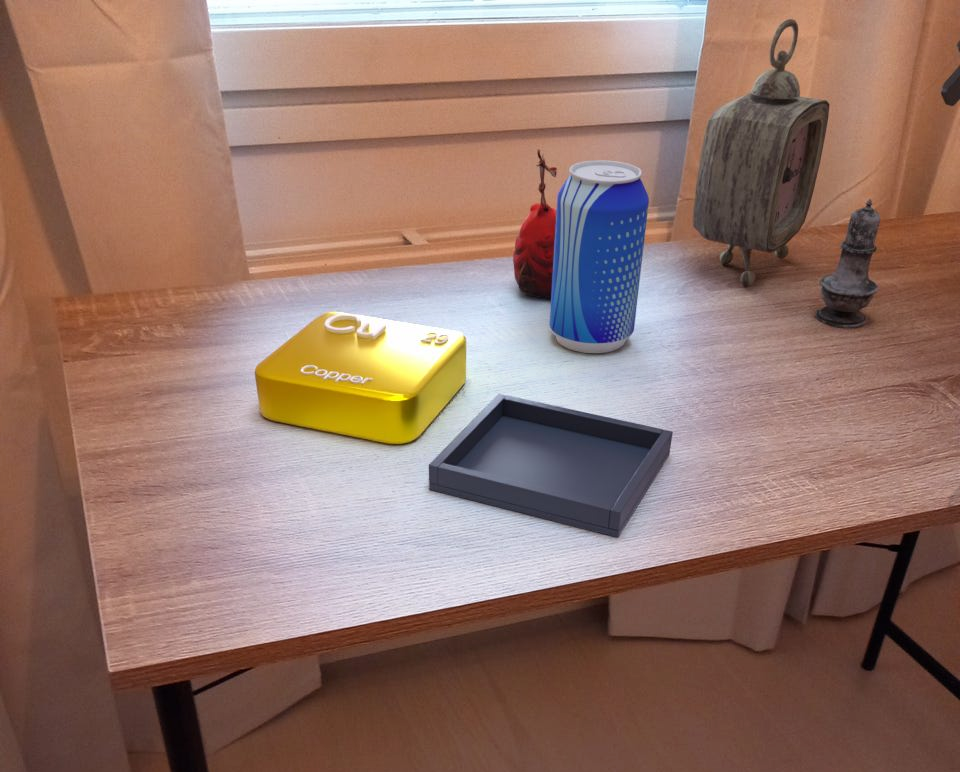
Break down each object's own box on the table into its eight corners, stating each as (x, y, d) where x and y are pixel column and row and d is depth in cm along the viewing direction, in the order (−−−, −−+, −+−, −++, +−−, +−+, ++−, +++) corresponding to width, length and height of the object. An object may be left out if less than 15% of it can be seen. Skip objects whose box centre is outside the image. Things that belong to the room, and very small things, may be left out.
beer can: (591, 364, 98) (607, 189, 88) (531, 336, 103) (539, 167, 93) (649, 341, 102) (671, 172, 92) (589, 315, 107) (603, 152, 97)
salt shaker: (800, 311, 109) (826, 193, 101) (845, 303, 111) (874, 187, 103) (836, 332, 105) (866, 211, 97) (881, 324, 107) (914, 204, 99)
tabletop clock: (754, 295, 112) (804, 34, 96) (679, 277, 116) (714, 24, 100) (799, 257, 122) (851, 14, 106) (728, 242, 125) (768, 5, 109)
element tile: (251, 418, 89) (243, 366, 86) (329, 351, 99) (325, 303, 96) (410, 450, 85) (408, 396, 82) (473, 376, 96) (473, 326, 93)
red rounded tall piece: (590, 290, 113) (603, 144, 103) (551, 308, 108) (561, 158, 99) (536, 273, 116) (543, 130, 107) (497, 290, 112) (500, 143, 103)
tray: (669, 454, 85) (673, 431, 83) (617, 537, 75) (620, 512, 74) (497, 416, 90) (498, 393, 88) (428, 489, 80) (428, 464, 79)
